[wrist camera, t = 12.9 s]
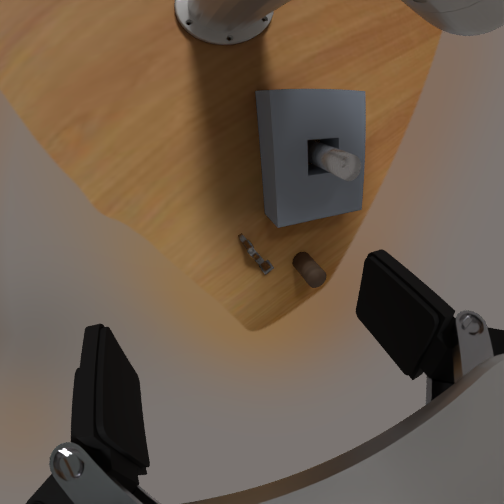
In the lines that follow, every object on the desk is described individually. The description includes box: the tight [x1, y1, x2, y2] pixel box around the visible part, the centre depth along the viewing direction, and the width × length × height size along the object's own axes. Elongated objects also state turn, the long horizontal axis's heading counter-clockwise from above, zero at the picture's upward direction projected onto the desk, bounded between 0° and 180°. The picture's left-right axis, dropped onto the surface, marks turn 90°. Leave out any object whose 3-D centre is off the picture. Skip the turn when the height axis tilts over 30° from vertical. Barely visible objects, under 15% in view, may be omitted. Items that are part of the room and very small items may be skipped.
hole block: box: [255, 89, 365, 228], centre depth 37 cm, size 18×14×5 cm
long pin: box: [307, 140, 361, 181], centre depth 35 cm, size 3×3×11 cm
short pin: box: [293, 252, 326, 288], centre depth 47 cm, size 3×3×6 cm
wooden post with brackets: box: [238, 233, 274, 275], centre depth 44 cm, size 2×8×4 cm, turn 34°
